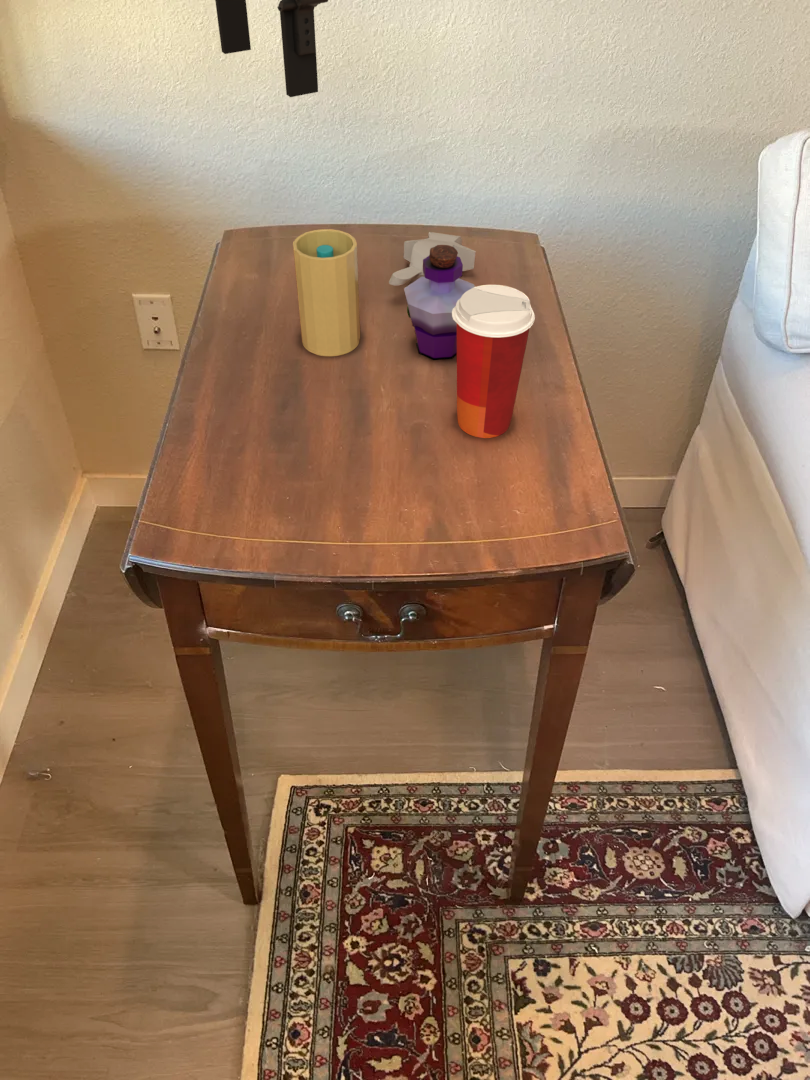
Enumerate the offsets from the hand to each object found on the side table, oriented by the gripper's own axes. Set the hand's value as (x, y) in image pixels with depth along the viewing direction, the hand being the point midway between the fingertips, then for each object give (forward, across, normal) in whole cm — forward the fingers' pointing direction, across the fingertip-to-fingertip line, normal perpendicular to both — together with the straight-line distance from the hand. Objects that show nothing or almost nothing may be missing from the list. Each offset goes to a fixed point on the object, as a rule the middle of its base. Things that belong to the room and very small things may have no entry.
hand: (267, 71), depth 76 cm
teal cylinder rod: (+29, -1, -4) cm, 29 cm away
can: (+29, -1, -4) cm, 30 cm away
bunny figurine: (+29, +4, -22) cm, 37 cm away
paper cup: (+29, -23, -11) cm, 39 cm away
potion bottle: (+29, -9, -14) cm, 34 cm away
